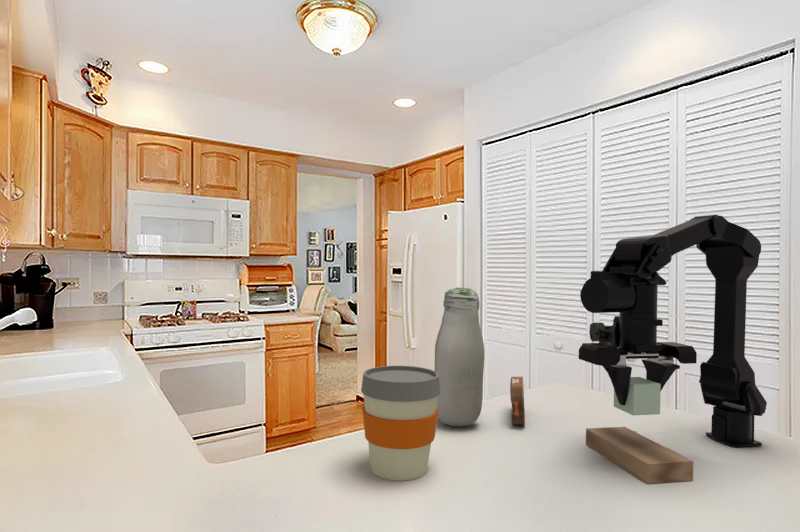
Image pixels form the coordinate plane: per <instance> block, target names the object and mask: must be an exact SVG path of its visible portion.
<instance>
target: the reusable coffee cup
mask: <svg viewBox="0 0 800 532" xmlns="http://www.w3.org/2000/svg"><path fill="white" fill-rule="evenodd" d="M361 381H362V382H361V387H360V388H361V389H360V390H361V391H360V392H361V393H362V394H363V402H364V403H363V404H364V406H362V409H361V410H362V417H363V428H364V429H363V430H364V437H365V439H366V441H367V442H368V443H367V444H368V452H369V462H370V469H371V472H372V473H373V474H374V475H376V476H377V477H379V478H382V479H385V480H389V481H390V480H391V481H401V482H402V481H411V480H415V479H419V478H421V477H423V476H425V474H427V471H428V467H429V460H430V452H431V446H432V443H433V442H434V440H435V437H436V432H437V431H436V430H437V424H438V423H437V422H438V409H437V408H436V406H437V399H438V395H439V394H440V383H439V374H438V373H437V372H436V371H434V370H433V369H432V368H431V369H430V368H426V367H421V366H420V367H419V366H413V365H411V366H410V365H382V366H376V367H371V368H370V367H369V369H366V370H364V371H363V372H362V380H361Z"/></svg>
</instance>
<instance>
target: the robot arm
mask: <svg viewBox="0 0 800 532" xmlns="http://www.w3.org/2000/svg"><path fill="white" fill-rule="evenodd" d="M689 219H690V220H687V221H685V222H682V223H680V224H677V225H674V226H673V227H670V228H667V229H664V230H663V231H659V232H657V233H655V234H653V235H643V236H636V237H635V236H634V237H628V238H622V239H620V240H617V242H616V244H615V248H614V250H613V252H612V253H611V255H610V257H609V258H608V260H607V261H606V264H605V265H604V267H603V269H602V270H591V271H590V278H588V279H587V280H586V281H585V282H583V283H584V284H583V285H582V288H581V290H580V293H579V296H580V301H581V304H582V306H583V308H584V309H585V310H586V311H588V312H589V313H592V314H604V313H605V314H606V313H607V314H609V313H613V314H614V313H615V314H616V313H619V314H618V315H614V318H613V320H612V321H613V324H612V325H605V323H604V322H593V323H590V324H589V331H588V332H589V333H588V334H589V338H590V339H589V340H590V341H592V342H583V343H582V344H581V345H580V347H579V349H578V359H579V360H581V361H584V362H586V363H590V364H593V365H595V366H602V367H603V368H604V370H605V371H606V372H607V375H608V377H609V379H610V381H611V384H612V387H613V391H614V390H615V393H616V396H617V399H618V401H619V404H621V405H625V404H626V401H627V397H628V390H629V384H630V378H631V377H632V370H633V367H632V366H629V365H627V360H636V359H637V360H638V359H641V362H642V364H643V367H644V368H645V371H646V373H645V376H646V377H645V379H647V380H650V381H653V382H656V383H659V384H661V390H660V393H661V392H662V390H663V388H664V387H665V385H666V383H668V381H669V380H670V378H671V377H672V375H673V374H674V373H675V371H676V370H680V368H681V366H680V364H683V365H685V364H688V365H690V364H691V365H692V364H693V365H694V364H697V356H698V355H697V354H698V353H697V351H696V349H695V348H694V346H693V345H689V344H684V343H681V342H680V343H678V342H674V341H658V339H657V337H658V329H657V328H658V327H662V326H663V322H664V321H663V319H660V318H658V291H659V289H658V288H659V287H658V286H666V284H667V281H666V280H665V278H664V277H662V276H661V275H659V273H658V272H659V271H660V270H661V269H663V268H664V267H666V266H667V265H669V264H670V263H671V262H672V259H673V258H672V257H673V256H675V255H676V254H678V253H680V252H682V251H685V250H688V249H689V248H692V247H694V246H696V249H697V250H698V251H700V253H702V254H704V255H705V265H706V267H707V269H708V270H709V272H710V273H711V275H712V277H713V278H714V281H715V284H714V286H715V287H714V314H713V315H714V318H713V345H712V347H713V349H712V355H711V356H710V357H709V358H708V360H706V362H705V361H703V362H701V363H700V365H699V370H700V371H699V372H700V376H699V380H698V382H699V384H700V388H701V394H702V397H703V398H702V400H703V403H704V405H711V406H712V415H711V431H710V432H705V436H707V437H709V438H712V439H714V440H717V441H718V442H720V443H723V444H725V445H728V446H730V447H733V448H739V447H740V448H741V447H742V448H743V447H753V446H754V447H756V446H757V447H759V446H762V444H763V442H761V441H759V440H756V439H755V416H759V417H762V416H763V415H764V414H765V413H766V409H767V403H768V402H767V400H766V399H765V397H764V396H763V394H762V392H761V391H760V389H759V387H758V386H757V385H756V373H755V371H754V370H753V368H752V366H751V365H750V362H748V360H747V358H746V357H745V354H746V353H745V351H746V346H745V345H746V321H747V320H746V319H747V318H746V317H747V316H746V315H747V287H748V283H747V282H748V279H749V278H750V277H751V276H752V274H753V273H754V272H755V270H756V269H757V268H758V266H759V260H760V255H761V252H762V244H761V241H760V240H759V238H758V237H756V236H755V235H754V234H753V233H752V232H751V231H750V230H749V229H747V228H746V227H743V226H741V225H738V224H735V223H732V222H731V221H728V220H727V218H725V217H724V216H722V215H719V214H710V215H709V214H707V215H706V214H705V215H698V216H694V217H693V218H689ZM675 359H676V360H677V361H678V362H679V363H680V364H675Z"/></svg>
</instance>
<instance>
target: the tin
mask: <svg viewBox="0 0 800 532" xmlns="http://www.w3.org/2000/svg"><path fill="white" fill-rule="evenodd" d="M523 377H524V376H511V377H510V384H509V391H510V392H509V393H510V395H509V396H510V403H511V424H512V425H515V426H524V427H525V425H526V415H525V414H526V413H525V411H526V410H525V398H524V397H525V393H524V378H523Z"/></svg>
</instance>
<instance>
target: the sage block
mask: <svg viewBox="0 0 800 532" xmlns="http://www.w3.org/2000/svg"><path fill="white" fill-rule="evenodd" d="M660 390H661V384H659V383H656V382H653V381H650V380H647V379H646V378H645V377H641V376H631V378H630V384H629V390H628V397H627V401H626V404H625V405H621V404H619V401H618V399H617V396H616V393H615V390H614V389H613V408H615V409H617V410H620V411H623V412H625V413H627V414H629V415H632V416H650V415H651V416H653V415H660V414H661V392H660ZM661 391H662V390H661Z"/></svg>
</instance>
